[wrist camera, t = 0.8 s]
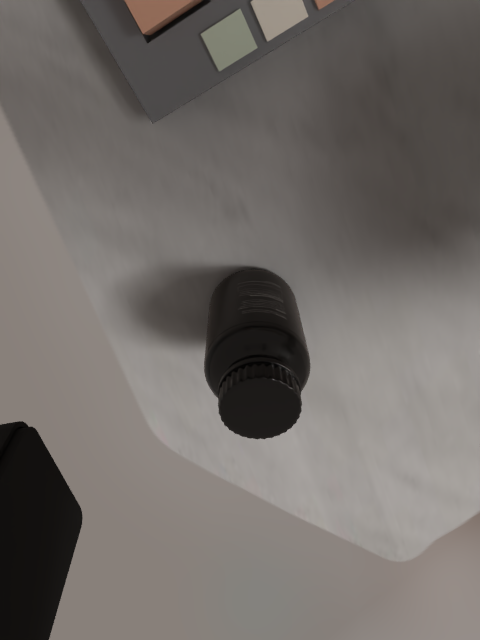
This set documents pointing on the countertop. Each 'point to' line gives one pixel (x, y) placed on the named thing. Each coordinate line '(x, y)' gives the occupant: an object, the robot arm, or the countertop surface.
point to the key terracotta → (158, 12)
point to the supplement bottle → (256, 354)
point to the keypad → (199, 44)
